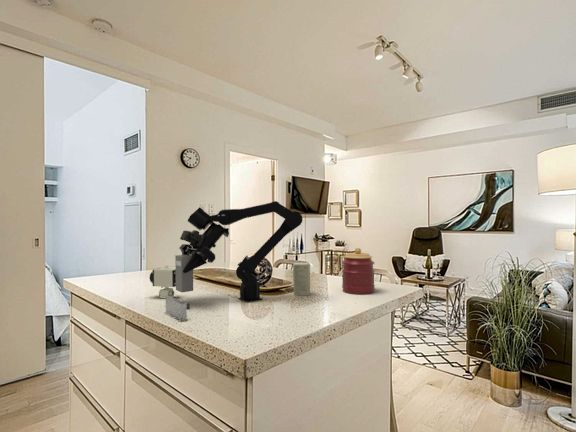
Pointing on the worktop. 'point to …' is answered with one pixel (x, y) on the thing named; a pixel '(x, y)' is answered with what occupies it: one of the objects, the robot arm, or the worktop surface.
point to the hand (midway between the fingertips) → (180, 271)
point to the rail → (177, 308)
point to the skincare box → (301, 278)
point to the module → (183, 274)
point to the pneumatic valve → (164, 280)
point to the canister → (358, 273)
